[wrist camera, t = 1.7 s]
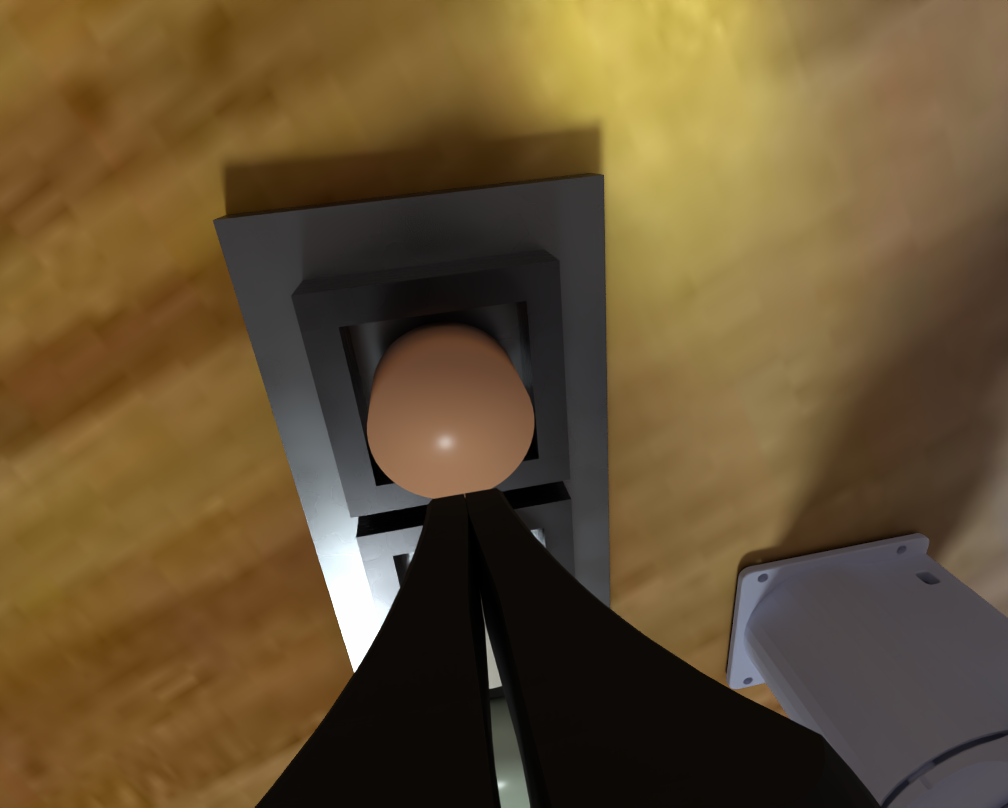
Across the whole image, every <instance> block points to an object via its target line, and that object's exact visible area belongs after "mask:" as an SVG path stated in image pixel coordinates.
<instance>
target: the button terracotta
mask: <svg viewBox="0 0 1008 808" xmlns="http://www.w3.org/2000/svg"><path fill="white" fill-rule="evenodd" d="M533 432H534V412H533V406H532V403H531V400H530V397H529V395H528V393H527V391H526V389H525V387H524V385H523V383H522V381H521V379H520V377H519V375H518V373H517V371H516V369H515V367H514V365H513V363H512V361H511V359H510V357H509V355H508V354H507V352H506V351H505V349H504V348H503V347H502V346H501V345H500V343H499V342H498V341H496V340H495V339H494V338H493V337H492V336H490V335H489V334H487V333H486V332H484V331H482V330H480V329H478V328H476V327H473V326H470V325H467V324H463V323H457V322H435V323H430V324H426V325H423V326H420V327H417V328H415V329H413V330H411V331H408V332H407V333H405V334H404V335H402V336H401V337H399V338H398V339H397V340H396V341H394V342H393V343H392V344H391V345H390V346H389V348H388V349H387V350H386V351H385V352H384V354H383V355H382V357H381V359H380V360H379V363H378V365H377V367H376V370H375V373H374V376H373V383H372V390H371V398H370V405H369V413H368V421H367V436H368V443H369V446H370V449H371V453H372V455H373V457H374V459H375V461H376V463H377V464H378V465H379V467H380V468H381V470H382V471H383V472H384V473H385V474H386V475H387V476H388V477H389V478H390V479H391V480H392V481H393V482H395V483H396V484H397V485H399V486H400V487H402V488H404V489H406V490H408V491H410V492H412V493H414V494H417V495H420V496H423V497H428V498H433V499H435V498H441V497H446V496H452V495H458V494H464V495H465V493H469V492H475V491H481V490H487V489H491V488H493V487H495V486H496V485H498V484H500V483H501V482H502V481H504V480H505V479H506V478H507V477H509V476H510V475H511V474H512V473H513V472H514V471H515V470H516V468H517V467H518V466H519V465H520V463H521V462H522V460H523V459H524V457H525V455H526V454H527V451H528V449H529V447H530V444H531V441H532V437H533Z"/></svg>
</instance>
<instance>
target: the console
mask: <svg viewBox="0 0 1008 808" xmlns="http://www.w3.org/2000/svg"><path fill="white" fill-rule="evenodd" d="M213 222H214V226H215V229H216V232H217V235H218V238H219V242H220V245H221V248H222V251H223V254H224V258H225V261H226V264H227V267H228V270H229V274H230V277H231V280H232V283H233V286H234V290H235V293H236V296H237V299H238V302H239V305H240V309H241V312H242V315H243V318H244V321H245V325H246V328H247V331H248V334H249V337H250V341H251V344H252V347H253V350H254V353H255V357H256V360H257V363H258V366H259V369H260V373H261V376H262V379H263V382H264V385H265V389H266V392H267V395H268V398H269V401H270V405H271V408H272V411H273V414H274V417H275V421H276V424H277V427H278V430H279V433H280V436H281V440H282V443H283V446H284V449H285V452H286V456H287V459H288V462H289V465H290V468H291V472H292V475H293V478H294V481H295V484H296V488H297V491H298V494H299V497H300V500H301V504H302V507H303V510H304V513H305V516H306V520H307V523H308V526H309V529H310V532H311V536H312V539H313V542H314V545H315V548H316V552H317V555H318V558H319V561H320V564H321V567H322V571H323V574H324V577H325V580H326V583H327V587H328V590H329V593H330V596H331V599H332V603H333V606H334V609H335V612H336V615H337V619H338V622H339V625H340V628H341V631H342V635H343V638H344V641H345V644H346V647H347V651H348V654H349V657H350V660H351V663H352V667H353V670H354V673H355V671H356V669H357V668H358V666H359V665H360V663H361V661H362V659H363V658H364V656H365V654H366V653H367V651H368V649H369V648H370V646H371V644H372V642H373V641H374V639H375V637H376V635H377V633H378V631H379V629H380V628H381V626H382V624H383V622H384V620H385V618H386V616H387V614H388V612H389V610H390V608H391V605H392V603H393V601H394V599H395V597H396V595H397V593H398V591H399V589H400V586H401V584H402V582H403V580H404V577H405V575H406V572H407V570H408V567H409V565H410V562H411V560H412V557H413V554H414V552H415V549H416V546H417V543H418V540H419V537H420V534H421V531H422V528H423V524H424V520H425V516H426V511H427V505H428V504H429V502H430V501H431V500H432V499H433V498H428V497H423V496H420V495H417V494H414V493H412V492H410V491H408V490H406V489H404V488H402V487H400V486H399V485H397V484H396V483H395V482H393V481H392V480H391V479H390V478H389V477H388V476H387V475H386V474H385V473H384V472H383V471H382V470H381V468H380V467H379V465H378V464H377V463H376V461H375V459H374V457H373V455H372V453H371V449H370V446H369V443H368V436H367V421H368V413H369V405H370V398H371V390H372V383H373V376H374V373H375V370H376V367H377V365H378V363H379V360H380V359H381V357H382V355H383V354H384V352H385V351H386V350H387V349H388V348H389V346H390V345H391V344H392V343H393V342H394V341H396V340H397V339H398V338H399V337H401V336H402V335H404V334H405V333H407V332H408V331H411V330H413V329H415V328H417V327H420V326H423V325H426V324H430V323H435V322H457V323H463V324H467V325H470V326H473V327H476V328H478V329H480V330H482V331H484V332H486V333H487V334H489V335H490V336H492V337H493V338H494V339H495V340H496V341H498V342H499V343H500V345H501V346H502V347H503V348H504V349H505V351H506V352H507V354H508V355H509V357H510V359H511V361H512V363H513V365H514V367H515V369H516V371H517V373H518V375H519V377H520V379H521V381H522V383H523V385H524V387H525V389H526V391H527V393H528V395H529V397H530V400H531V403H532V406H533V412H534V432H533V437H532V441H531V444H530V447H529V449H528V451H527V454H526V455H525V457H524V459H523V460H522V462H521V463H520V465H519V466H518V467H517V468H516V470H515V471H514V472H513V473H512V474H511V475H510V476H509V477H507V478H506V479H505V480H504V481H502V482H501V483H500V484H498V485H496V486H495V487H493V488H497V489H499V490H500V491H502V492H503V494H504V496H505V497H506V499H507V500H508V502H509V504H510V505H511V506H512V508H513V509H514V511H515V512H516V513H517V515H518V516H519V517H520V519H521V520H522V521H523V522H524V524H525V525H526V526H527V527H528V529H529V530H530V531H531V532H532V533H533V535H534V536H535V537H536V538H537V539H538V540H539V541H540V542H541V544H542V545H543V546H544V547H545V548H546V549H547V550H548V551H549V552H550V553H551V555H552V556H553V557H554V558H555V559H556V560H557V561H558V562H559V563H560V564H561V565H562V566H563V567H564V568H565V569H566V570H567V571H568V572H569V573H570V574H571V575H572V576H573V577H575V578H576V579H577V580H578V581H579V582H580V583H581V584H582V585H583V586H584V587H585V588H586V589H587V590H589V591H590V592H591V593H592V594H593V595H594V596H595V597H597V598H598V599H599V600H600V601H601V602H602V603H604V604H605V605H606V606H607V607H609V608H610V574H609V503H608V433H607V362H606V291H605V221H604V175H601V174H595V173H587V174H578V175H569V176H561V177H552V178H543V179H535V180H526V181H517V182H509V183H500V184H491V185H483V186H474V187H465V188H457V189H448V190H439V191H431V192H422V193H413V194H405V195H396V196H387V197H379V198H370V199H361V200H353V201H344V202H335V203H327V204H318V205H309V206H301V207H292V208H283V209H275V210H266V211H257V212H249V213H240V214H231V215H225V216H222V217H220V218H217V219H215V220H213ZM491 489H492V488H491ZM465 500H466V499H465ZM466 506H467V505H466ZM489 693H490V698H495V697H500V696H504V691H503V687H502V686H500V687H496V688H492V689H489Z"/></svg>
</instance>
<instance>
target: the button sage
mask: <svg viewBox="0 0 1008 808" xmlns="http://www.w3.org/2000/svg"><path fill="white" fill-rule="evenodd" d="M490 708H491V723H492V739H493V750H494V759H495V769H496V776H497V783H498V789H499V796H500V803H501V808H530V803H529V797H528V792H527V786H526V781H525V776H524V770H523V765H522V760H521V756H520V752H519V748H518V743H517V739H516V735H515V731H514V728H513V724H512V720H511V717H510V713H509V709H508V706H507V702H506V698H505V695H504V696H500V697H495V698H490Z"/></svg>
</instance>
